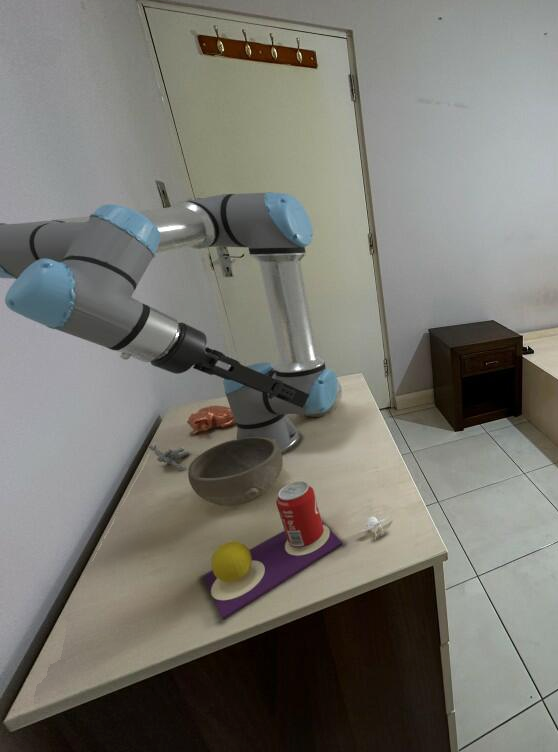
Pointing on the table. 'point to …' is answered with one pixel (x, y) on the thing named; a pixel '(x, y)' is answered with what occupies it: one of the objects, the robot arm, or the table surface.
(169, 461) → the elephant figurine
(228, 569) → the lemon
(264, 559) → the placemat
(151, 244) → the robot arm
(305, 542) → the beverage can
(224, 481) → the bowl
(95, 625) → the table surface
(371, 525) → the white bird figurine
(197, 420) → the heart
